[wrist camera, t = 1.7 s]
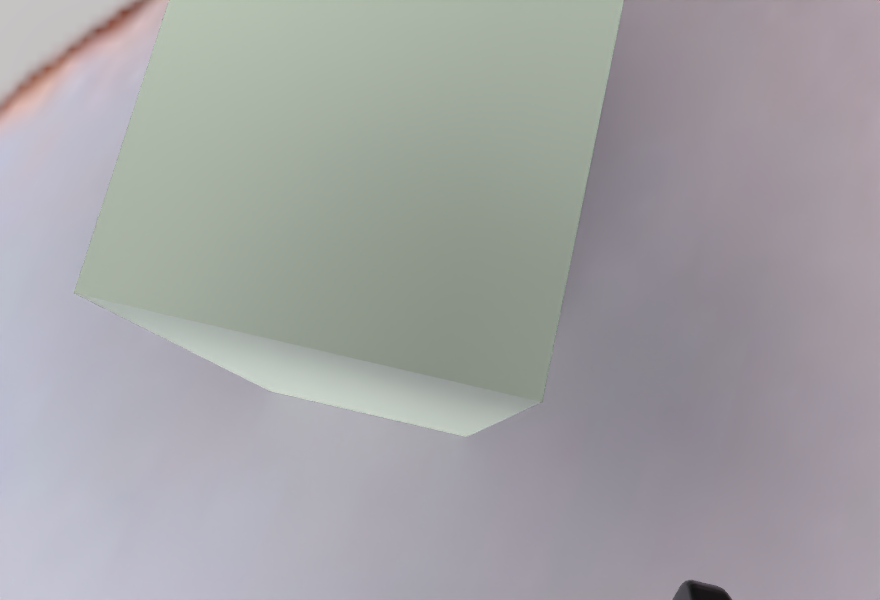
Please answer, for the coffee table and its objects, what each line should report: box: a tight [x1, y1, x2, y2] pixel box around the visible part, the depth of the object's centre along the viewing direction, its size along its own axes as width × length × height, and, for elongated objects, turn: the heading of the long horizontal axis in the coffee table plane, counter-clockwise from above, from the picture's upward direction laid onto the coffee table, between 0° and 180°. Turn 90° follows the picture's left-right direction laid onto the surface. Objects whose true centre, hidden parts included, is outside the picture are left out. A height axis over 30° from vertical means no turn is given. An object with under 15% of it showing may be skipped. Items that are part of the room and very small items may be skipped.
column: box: [74, 0, 624, 437], centre depth 15 cm, size 5×5×12 cm
